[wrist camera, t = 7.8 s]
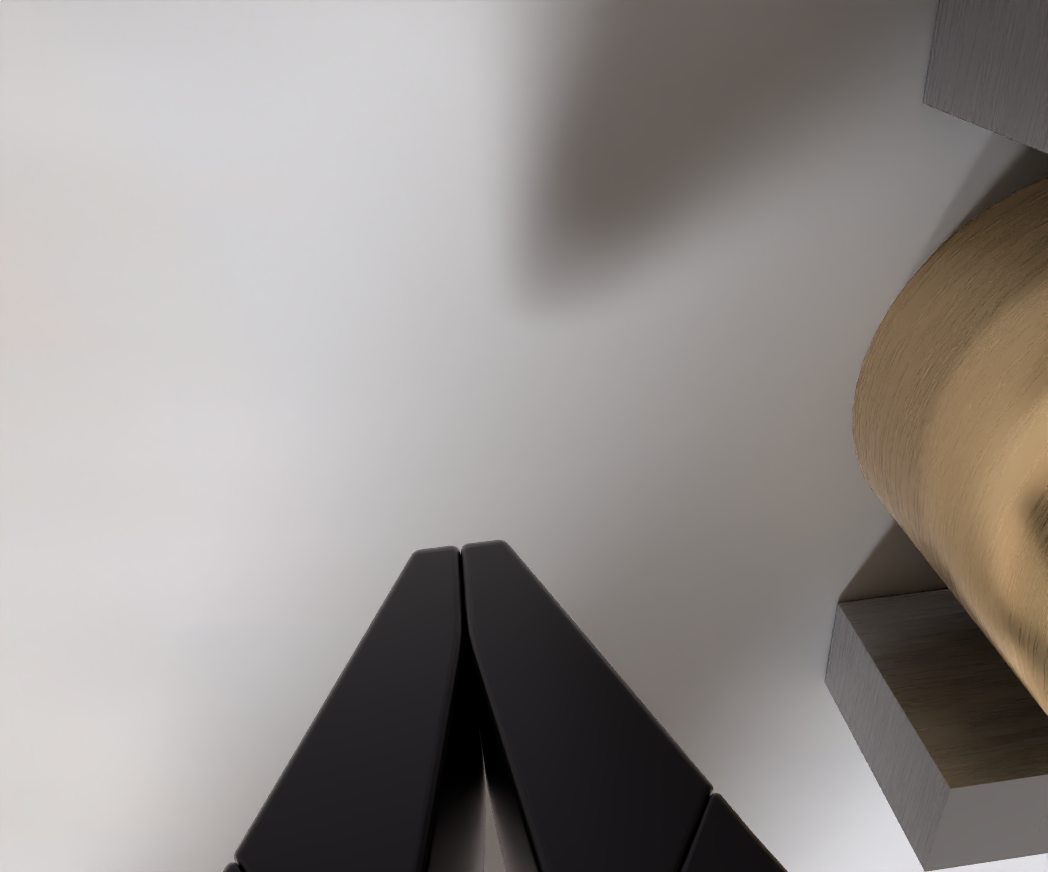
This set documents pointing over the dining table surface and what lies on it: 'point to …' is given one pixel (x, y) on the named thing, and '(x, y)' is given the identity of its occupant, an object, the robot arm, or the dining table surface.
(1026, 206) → the cylinder
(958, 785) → the valve body
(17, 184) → the dining table surface
